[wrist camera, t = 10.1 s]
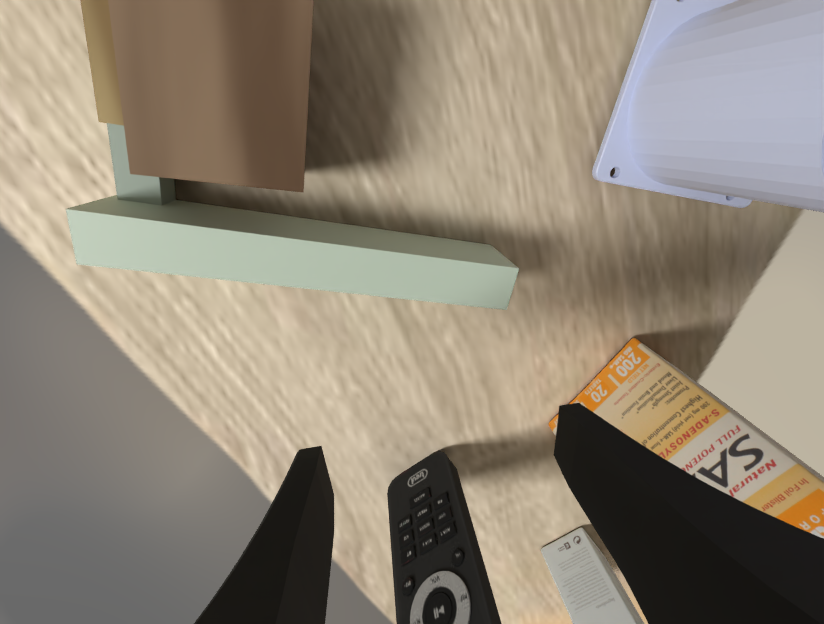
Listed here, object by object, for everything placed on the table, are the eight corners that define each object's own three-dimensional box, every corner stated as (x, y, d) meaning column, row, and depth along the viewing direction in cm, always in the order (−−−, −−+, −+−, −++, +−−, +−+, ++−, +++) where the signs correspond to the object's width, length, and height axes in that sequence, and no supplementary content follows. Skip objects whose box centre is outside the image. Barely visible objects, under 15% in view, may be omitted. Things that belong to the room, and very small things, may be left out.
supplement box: (629, 332, 24) (900, 530, 12) (673, 364, 25) (947, 565, 14) (542, 423, 26) (697, 662, 14) (587, 446, 28) (759, 678, 16)
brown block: (314, -20, 11) (48, -117, 8) (303, 192, 13) (95, 170, 11) (287, 10, 14) (95, -52, 12) (282, 173, 17) (122, 153, 14)
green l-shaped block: (524, 118, 17) (566, 115, 14) (481, 280, 21) (506, 309, 17) (103, 26, 14) (22, -8, 11) (131, 237, 17) (76, 264, 14)
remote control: (439, 441, 25) (536, 789, 12) (453, 455, 26) (559, 797, 13) (381, 478, 26) (412, 845, 13) (396, 491, 27) (440, 850, 13)
